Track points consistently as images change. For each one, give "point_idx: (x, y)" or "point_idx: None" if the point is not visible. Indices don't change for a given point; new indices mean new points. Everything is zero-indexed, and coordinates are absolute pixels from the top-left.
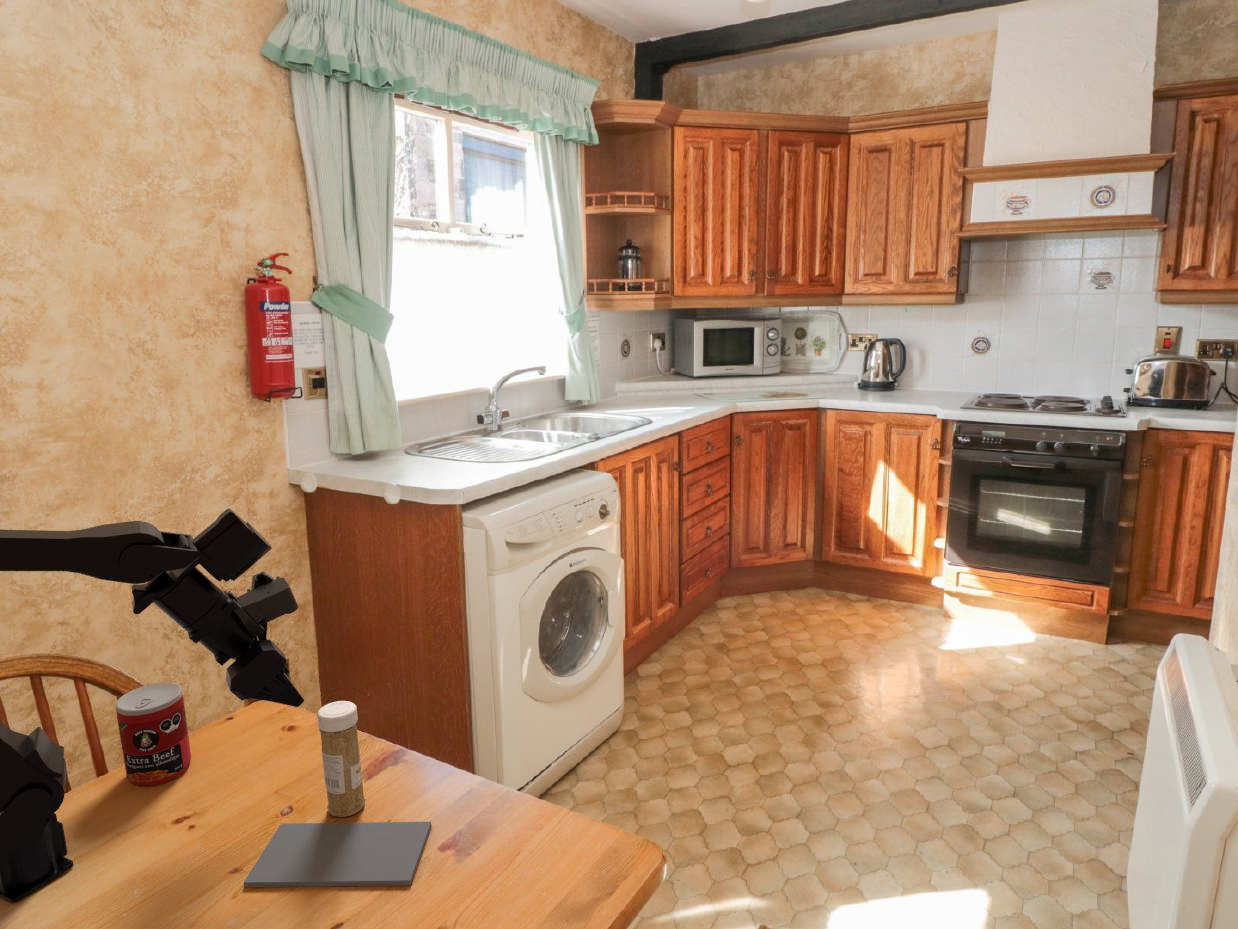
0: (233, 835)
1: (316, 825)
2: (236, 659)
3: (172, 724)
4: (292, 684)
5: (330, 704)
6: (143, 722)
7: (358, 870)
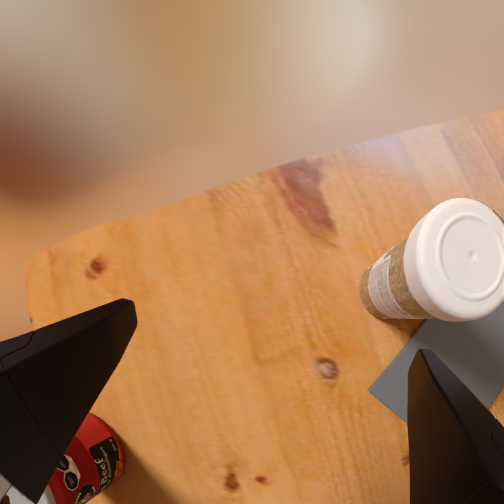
0: (329, 447)
1: (412, 348)
2: (47, 480)
3: (69, 469)
4: (490, 413)
5: (438, 261)
6: None
7: None
